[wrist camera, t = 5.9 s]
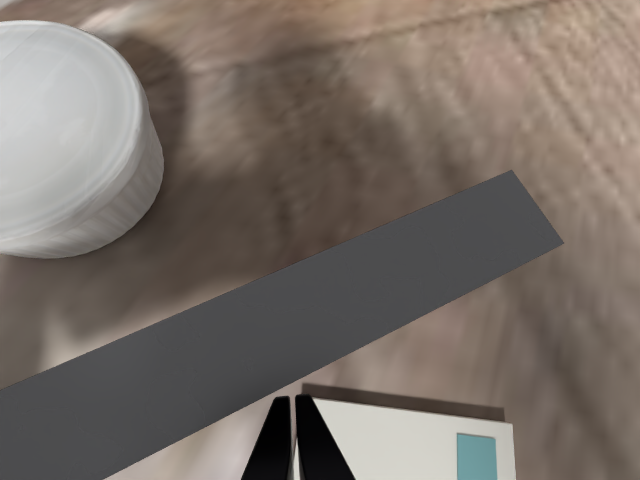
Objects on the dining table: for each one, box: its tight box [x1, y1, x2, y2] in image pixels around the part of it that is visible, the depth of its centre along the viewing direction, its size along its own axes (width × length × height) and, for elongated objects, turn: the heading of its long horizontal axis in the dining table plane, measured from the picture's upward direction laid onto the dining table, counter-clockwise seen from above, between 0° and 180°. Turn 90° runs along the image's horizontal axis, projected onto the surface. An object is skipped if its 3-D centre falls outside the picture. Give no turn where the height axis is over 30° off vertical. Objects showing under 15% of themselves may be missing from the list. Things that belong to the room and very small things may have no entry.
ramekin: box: [0, 20, 164, 259], centre depth 16 cm, size 11×11×5 cm
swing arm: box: [0, 170, 564, 480], centre depth 8 cm, size 24×4×5 cm, turn 115°
